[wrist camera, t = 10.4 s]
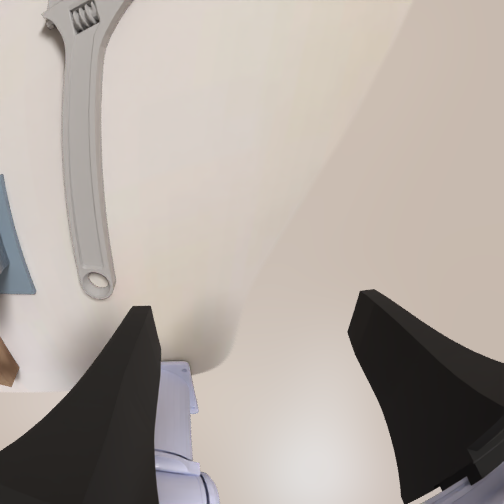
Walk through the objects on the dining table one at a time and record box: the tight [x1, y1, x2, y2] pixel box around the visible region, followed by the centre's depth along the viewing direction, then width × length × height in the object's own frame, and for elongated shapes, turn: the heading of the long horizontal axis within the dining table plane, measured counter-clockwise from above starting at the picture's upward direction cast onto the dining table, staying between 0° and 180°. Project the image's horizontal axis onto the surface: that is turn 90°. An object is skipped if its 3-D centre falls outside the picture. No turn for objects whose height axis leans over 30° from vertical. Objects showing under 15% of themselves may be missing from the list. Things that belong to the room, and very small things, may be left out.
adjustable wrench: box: [41, 0, 133, 299], centre depth 14 cm, size 25×6×2 cm, turn 169°
